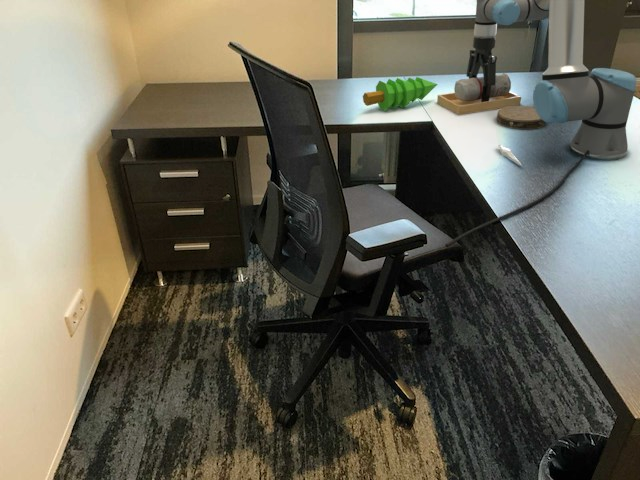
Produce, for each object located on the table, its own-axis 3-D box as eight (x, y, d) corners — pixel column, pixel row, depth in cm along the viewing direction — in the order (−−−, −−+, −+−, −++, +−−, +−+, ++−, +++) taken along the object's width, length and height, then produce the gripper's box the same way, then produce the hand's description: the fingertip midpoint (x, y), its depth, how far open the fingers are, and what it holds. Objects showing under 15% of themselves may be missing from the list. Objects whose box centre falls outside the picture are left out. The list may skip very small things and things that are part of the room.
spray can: (508, 68, 203) (459, 75, 198) (514, 89, 202) (465, 97, 197) (496, 79, 211) (449, 86, 206) (502, 99, 210) (455, 106, 205)
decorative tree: (361, 77, 200) (434, 63, 208) (358, 102, 209) (427, 88, 217) (374, 96, 194) (449, 81, 202) (370, 121, 203) (441, 106, 211)
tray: (495, 94, 216) (496, 86, 214) (520, 104, 203) (521, 96, 202) (437, 103, 210) (437, 95, 208) (458, 115, 197) (459, 106, 195)
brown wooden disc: (506, 111, 198) (507, 103, 196) (551, 118, 189) (553, 109, 188) (489, 124, 187) (490, 116, 185) (537, 132, 178) (538, 123, 177)
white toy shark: (494, 149, 168) (495, 143, 167) (502, 148, 168) (503, 142, 167) (516, 169, 155) (517, 162, 154) (525, 168, 155) (526, 161, 154)
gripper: (511, 40, 186) (503, 106, 198) (477, 30, 203) (472, 91, 215) (492, 42, 184) (485, 109, 196) (459, 32, 202) (455, 94, 213)
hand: (478, 100), depth 206 cm, fingers closed on spray can, 8 cm apart
